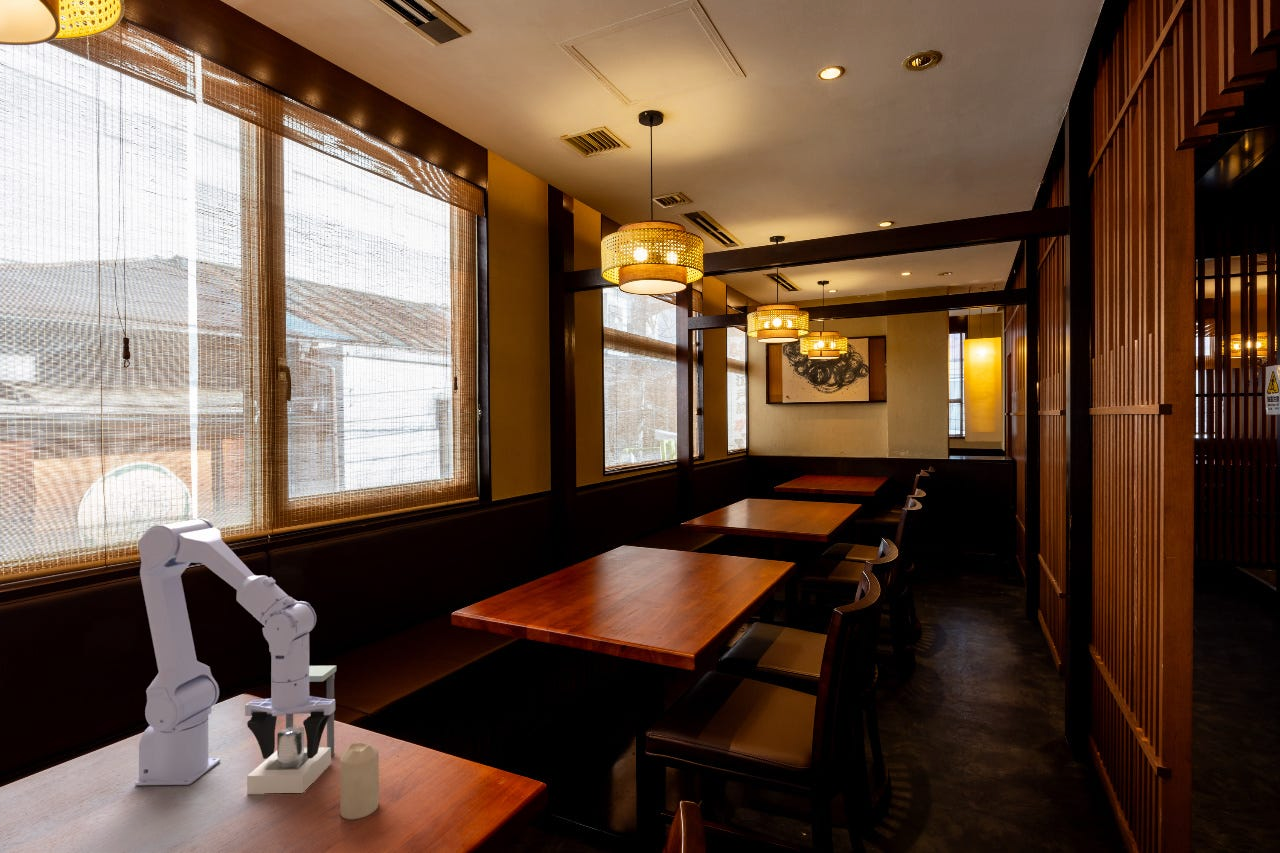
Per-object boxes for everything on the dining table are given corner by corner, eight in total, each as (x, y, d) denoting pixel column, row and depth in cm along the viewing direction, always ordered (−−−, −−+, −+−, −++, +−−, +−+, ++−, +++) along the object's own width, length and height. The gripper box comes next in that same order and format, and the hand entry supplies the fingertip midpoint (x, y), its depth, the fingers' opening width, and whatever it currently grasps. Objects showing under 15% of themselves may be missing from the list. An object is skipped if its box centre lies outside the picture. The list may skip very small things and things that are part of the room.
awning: (272, 766, 111) (272, 676, 111) (288, 752, 116) (288, 666, 116) (323, 765, 111) (322, 675, 111) (336, 751, 116) (336, 665, 116)
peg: (284, 772, 109) (284, 726, 109) (308, 771, 109) (308, 725, 109) (272, 785, 105) (272, 737, 105) (297, 784, 105) (297, 736, 105)
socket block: (247, 794, 102) (247, 775, 102) (279, 764, 111) (279, 747, 111) (302, 793, 102) (302, 775, 102) (330, 764, 111) (330, 747, 111)
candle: (385, 799, 100) (385, 737, 100) (367, 821, 95) (366, 755, 95) (353, 798, 101) (352, 736, 101) (333, 819, 95) (332, 753, 95)
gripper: (233, 686, 103) (233, 768, 103) (320, 685, 103) (320, 767, 103) (259, 670, 110) (259, 747, 110) (341, 669, 110) (341, 746, 110)
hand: (290, 755), depth 107 cm, fingers open, 7 cm apart
